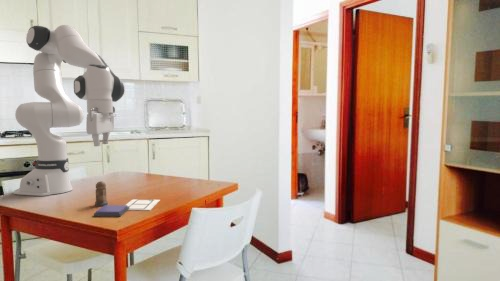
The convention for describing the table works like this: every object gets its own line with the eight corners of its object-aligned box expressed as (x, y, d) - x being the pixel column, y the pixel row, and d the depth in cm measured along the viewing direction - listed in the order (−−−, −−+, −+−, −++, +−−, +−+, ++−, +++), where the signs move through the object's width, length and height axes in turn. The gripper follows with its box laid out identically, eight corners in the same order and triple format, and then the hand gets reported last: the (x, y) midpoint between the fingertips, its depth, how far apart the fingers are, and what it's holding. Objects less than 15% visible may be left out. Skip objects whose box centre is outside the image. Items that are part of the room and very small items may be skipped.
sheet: (119, 210, 127) (119, 209, 127) (132, 200, 141) (132, 199, 141) (150, 210, 127) (150, 209, 127) (160, 200, 141) (160, 199, 141)
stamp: (93, 206, 132) (92, 182, 131) (98, 203, 137) (97, 180, 136) (104, 206, 132) (104, 182, 131) (109, 203, 137) (108, 180, 136)
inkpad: (93, 216, 120) (93, 211, 120) (104, 208, 129) (104, 204, 129) (120, 216, 120) (120, 212, 120) (129, 209, 129) (129, 204, 129)
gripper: (99, 107, 122) (101, 147, 123) (116, 108, 142) (117, 142, 143) (80, 107, 121) (82, 147, 122) (100, 108, 142) (101, 143, 143)
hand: (101, 145), depth 133 cm, fingers open, 8 cm apart
